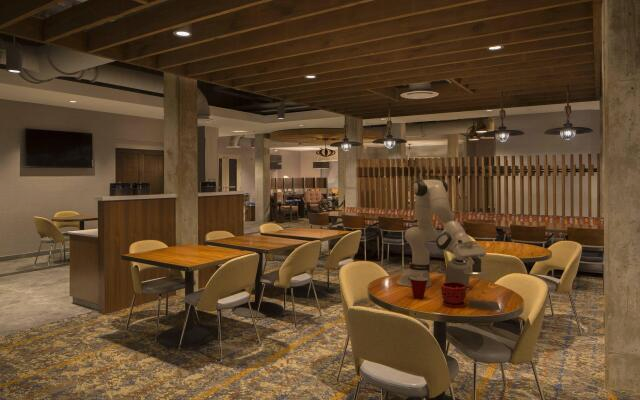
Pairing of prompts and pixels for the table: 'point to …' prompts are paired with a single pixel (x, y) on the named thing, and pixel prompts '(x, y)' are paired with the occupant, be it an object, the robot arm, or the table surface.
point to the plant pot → (453, 294)
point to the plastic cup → (418, 286)
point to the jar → (457, 271)
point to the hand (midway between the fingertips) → (477, 263)
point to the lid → (476, 269)
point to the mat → (484, 305)
